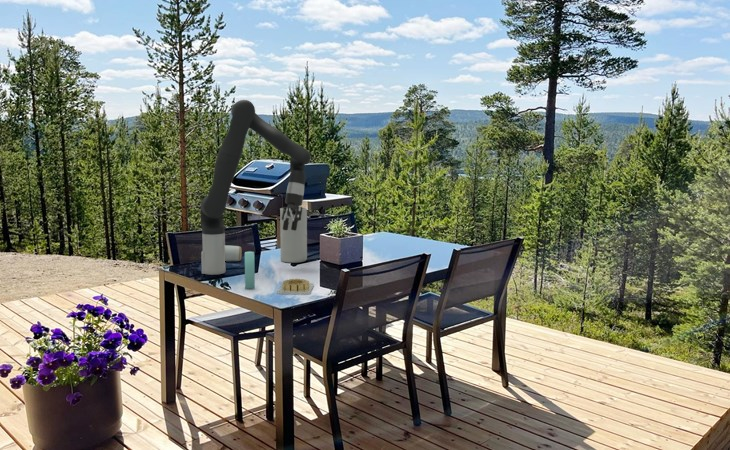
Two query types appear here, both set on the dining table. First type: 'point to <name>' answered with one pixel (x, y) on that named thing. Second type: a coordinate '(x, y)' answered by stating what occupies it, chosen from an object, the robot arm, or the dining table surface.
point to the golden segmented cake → (296, 287)
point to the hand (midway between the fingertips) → (289, 230)
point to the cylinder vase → (294, 240)
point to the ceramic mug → (233, 253)
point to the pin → (249, 270)
